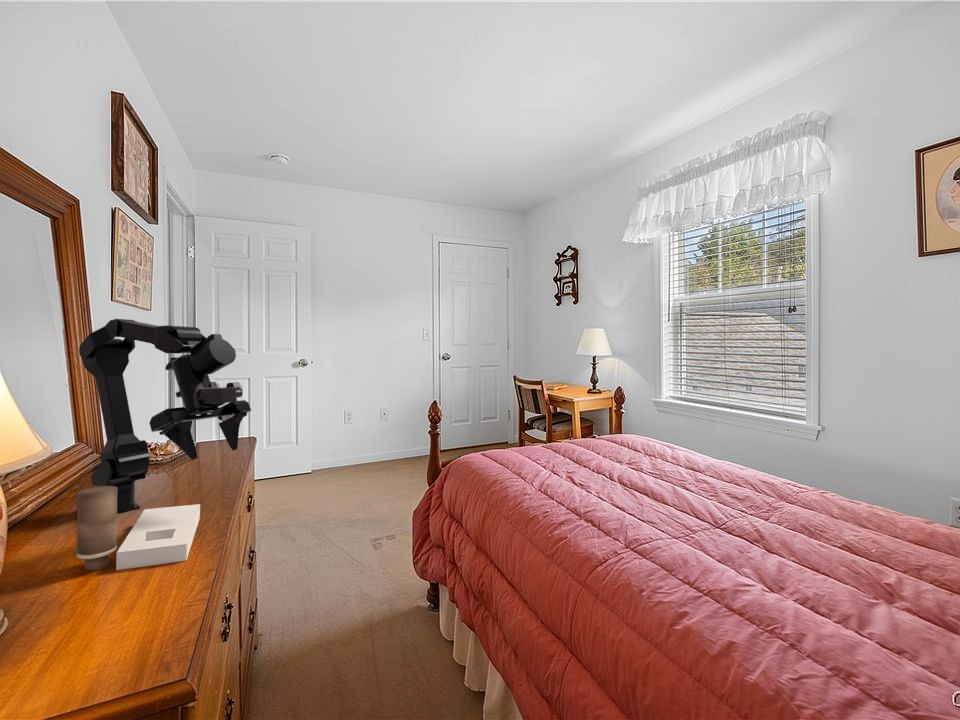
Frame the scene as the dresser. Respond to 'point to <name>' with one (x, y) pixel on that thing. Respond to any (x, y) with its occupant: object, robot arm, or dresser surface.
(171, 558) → the board
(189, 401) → the robot arm
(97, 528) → the peg
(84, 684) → the dresser surface
